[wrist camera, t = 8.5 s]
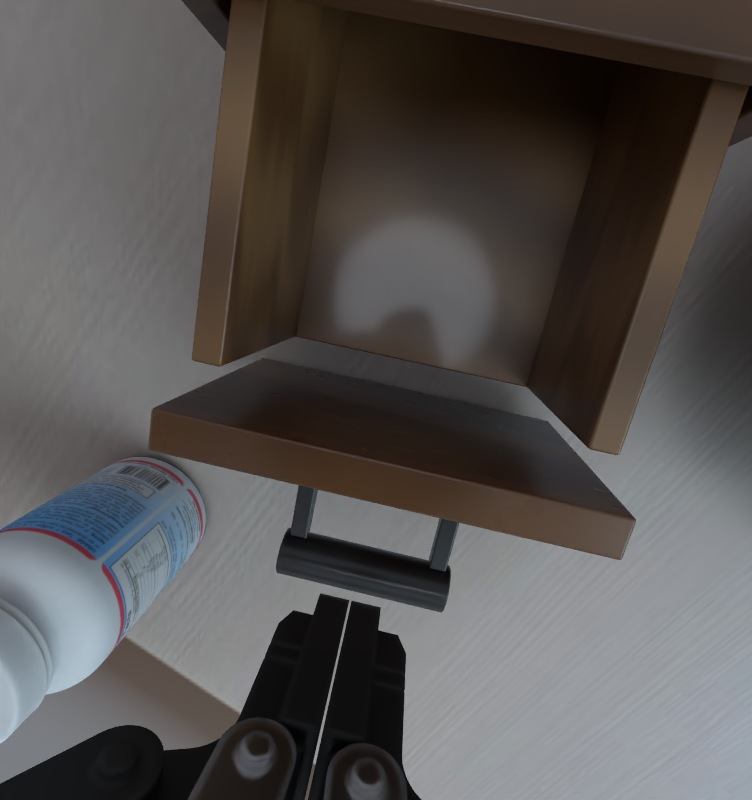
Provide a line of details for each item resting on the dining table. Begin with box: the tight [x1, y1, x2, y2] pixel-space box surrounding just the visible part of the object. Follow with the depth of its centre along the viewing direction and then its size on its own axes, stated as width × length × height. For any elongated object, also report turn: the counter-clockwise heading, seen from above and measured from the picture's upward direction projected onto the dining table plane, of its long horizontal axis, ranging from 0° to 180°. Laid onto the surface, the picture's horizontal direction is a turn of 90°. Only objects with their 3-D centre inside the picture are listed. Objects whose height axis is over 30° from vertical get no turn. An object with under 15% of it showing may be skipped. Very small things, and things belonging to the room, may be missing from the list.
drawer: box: [148, 0, 749, 612], centre depth 16 cm, size 21×13×9 cm, turn 168°
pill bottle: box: [0, 457, 206, 744], centre depth 19 cm, size 6×6×11 cm
